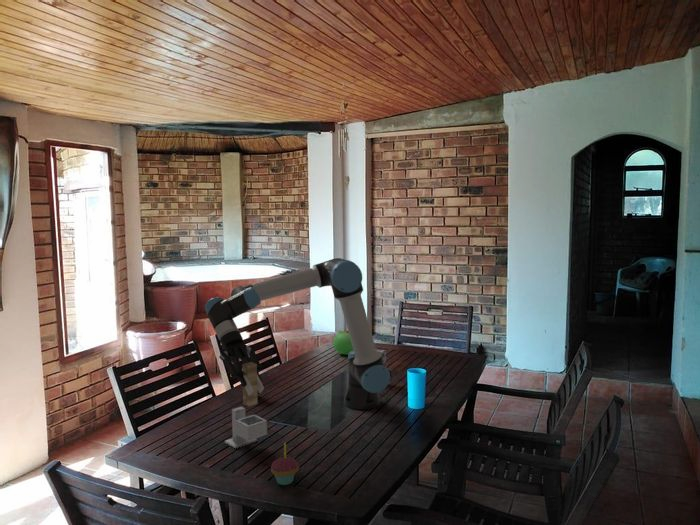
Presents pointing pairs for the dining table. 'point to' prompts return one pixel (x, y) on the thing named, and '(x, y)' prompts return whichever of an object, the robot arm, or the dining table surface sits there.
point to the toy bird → (343, 342)
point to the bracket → (246, 428)
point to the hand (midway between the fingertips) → (256, 391)
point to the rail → (251, 374)
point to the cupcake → (284, 469)
